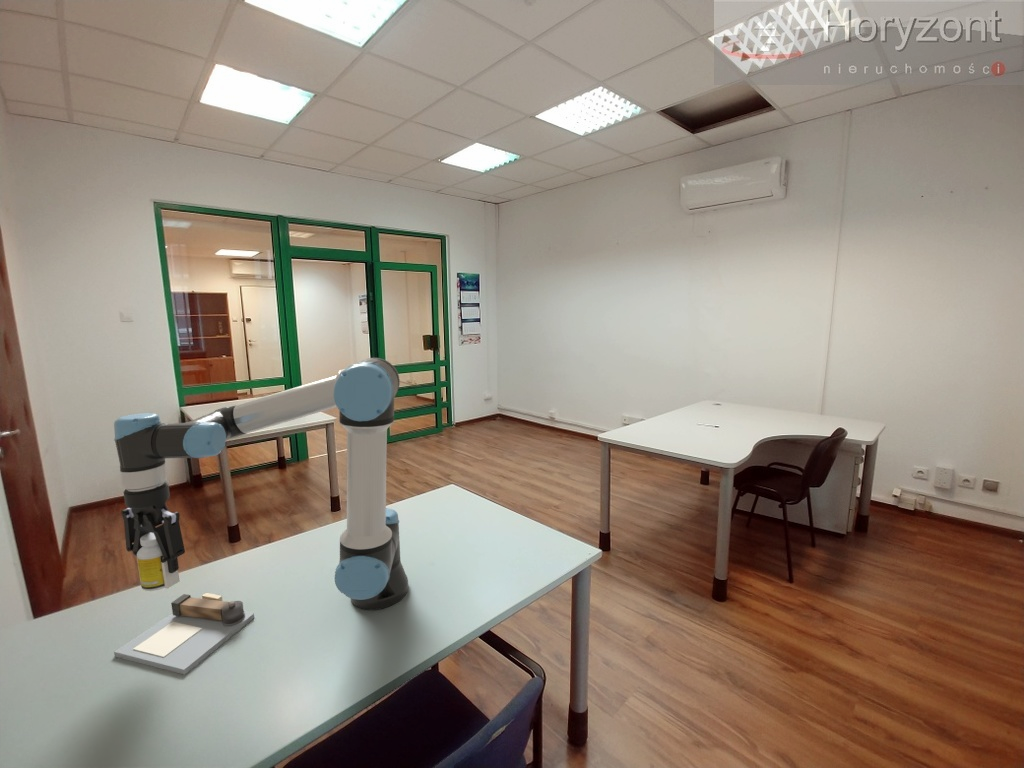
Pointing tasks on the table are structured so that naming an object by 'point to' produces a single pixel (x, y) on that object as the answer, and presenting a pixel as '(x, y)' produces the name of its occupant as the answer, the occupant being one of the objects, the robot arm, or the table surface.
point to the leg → (208, 609)
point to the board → (180, 641)
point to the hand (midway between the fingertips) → (160, 582)
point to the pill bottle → (150, 563)
